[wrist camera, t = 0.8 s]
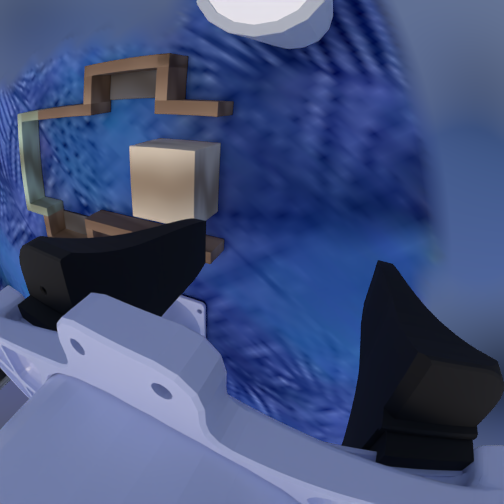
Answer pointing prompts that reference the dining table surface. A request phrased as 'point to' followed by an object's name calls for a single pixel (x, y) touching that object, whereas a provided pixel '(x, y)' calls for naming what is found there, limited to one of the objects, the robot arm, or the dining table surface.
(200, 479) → the robot arm
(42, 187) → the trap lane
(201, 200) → the oak block
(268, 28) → the white tapered cup
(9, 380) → the milk frother
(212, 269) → the dining table surface
